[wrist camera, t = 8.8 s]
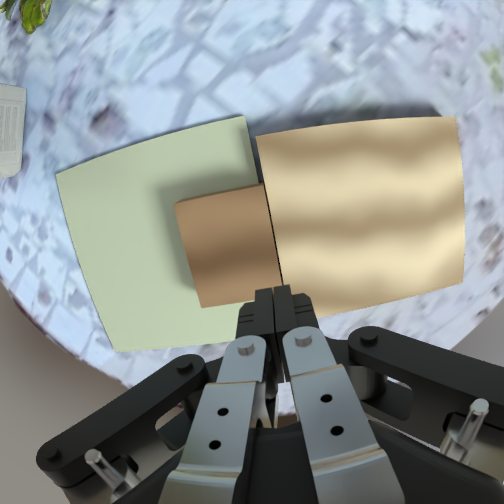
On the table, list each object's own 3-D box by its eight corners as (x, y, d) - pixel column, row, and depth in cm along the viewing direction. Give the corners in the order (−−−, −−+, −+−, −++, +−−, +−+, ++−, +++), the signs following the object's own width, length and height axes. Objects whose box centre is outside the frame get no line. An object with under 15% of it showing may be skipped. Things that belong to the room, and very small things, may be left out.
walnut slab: (181, 199, 25) (173, 204, 23) (263, 182, 25) (263, 185, 22) (206, 295, 28) (201, 308, 26) (281, 283, 27) (283, 295, 25)
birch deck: (255, 137, 24) (255, 136, 22) (443, 118, 22) (455, 116, 20) (288, 311, 29) (290, 322, 27) (453, 275, 27) (462, 282, 25)
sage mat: (57, 174, 25) (55, 174, 25) (244, 116, 23) (244, 115, 23) (116, 349, 31) (115, 351, 31) (286, 330, 29) (286, 332, 29)
